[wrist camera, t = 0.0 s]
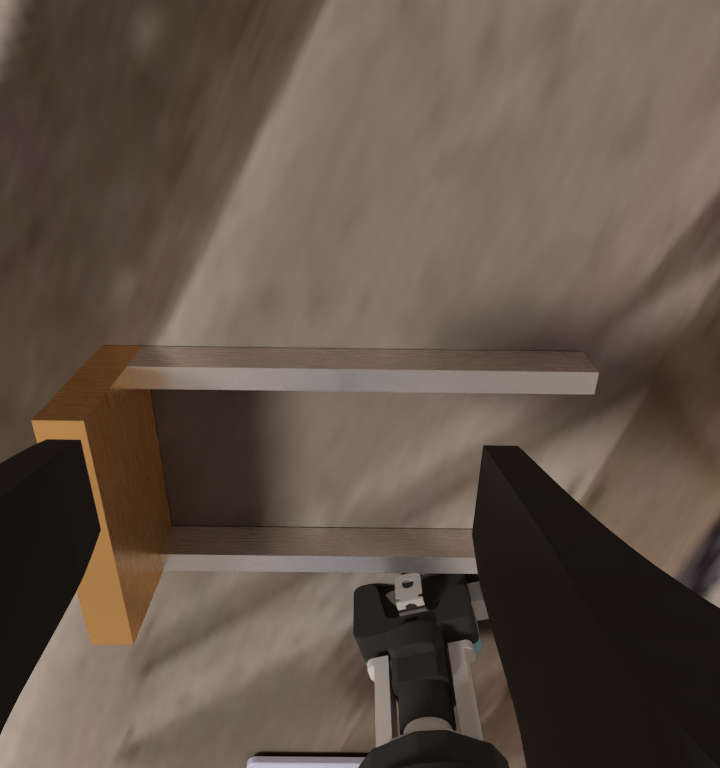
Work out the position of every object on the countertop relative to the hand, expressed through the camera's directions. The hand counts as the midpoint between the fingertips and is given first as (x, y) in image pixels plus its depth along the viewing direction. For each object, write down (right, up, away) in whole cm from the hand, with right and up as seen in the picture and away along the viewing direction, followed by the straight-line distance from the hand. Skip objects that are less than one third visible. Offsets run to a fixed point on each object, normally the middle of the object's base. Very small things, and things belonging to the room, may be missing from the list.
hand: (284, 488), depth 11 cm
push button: (+4, -7, +15) cm, 17 cm away
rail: (+1, -1, +12) cm, 12 cm away
